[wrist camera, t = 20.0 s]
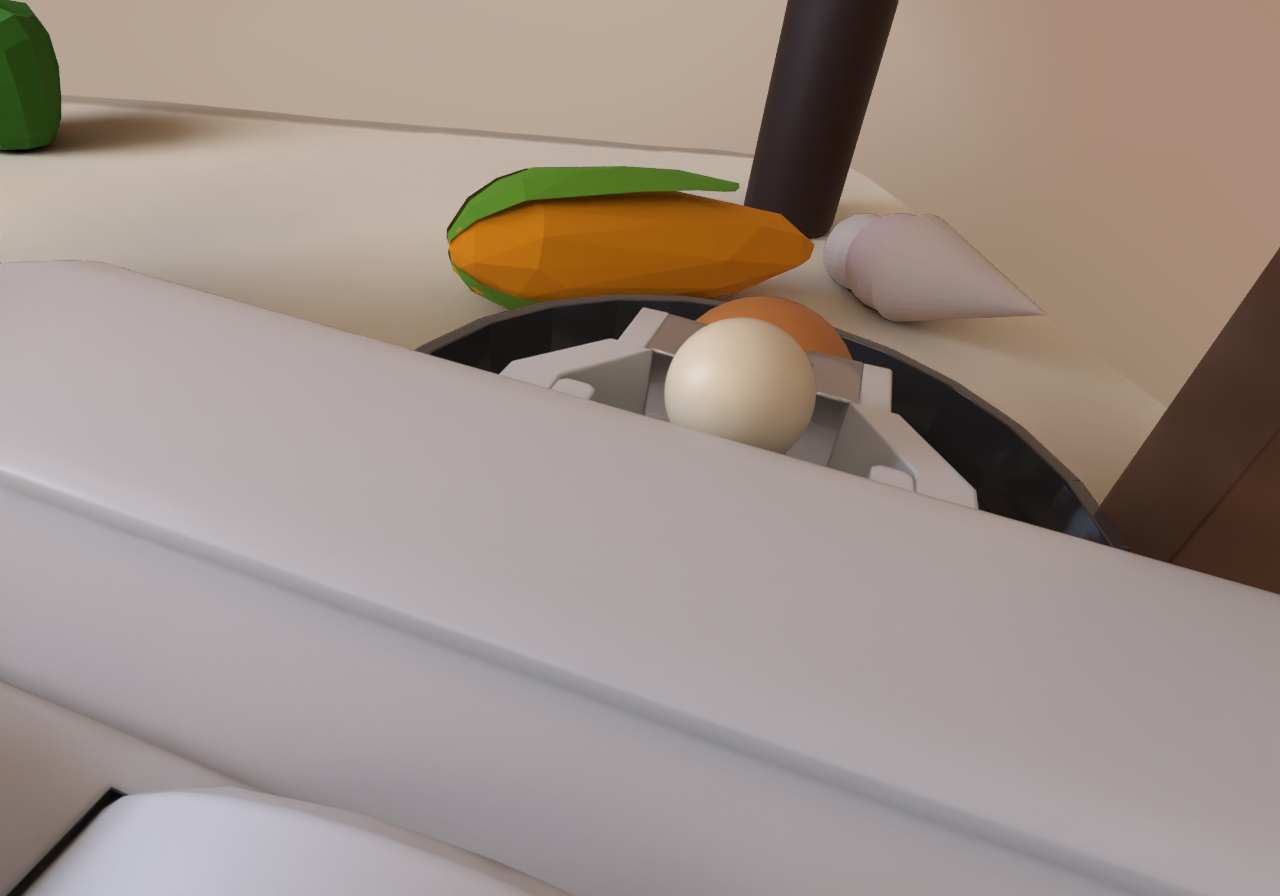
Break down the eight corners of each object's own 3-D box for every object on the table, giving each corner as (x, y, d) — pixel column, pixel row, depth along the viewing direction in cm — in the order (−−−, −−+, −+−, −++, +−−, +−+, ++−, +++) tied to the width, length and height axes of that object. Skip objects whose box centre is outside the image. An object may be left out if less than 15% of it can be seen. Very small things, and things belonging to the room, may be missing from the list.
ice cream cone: (1013, 398, 35) (820, 309, 47) (1100, 315, 35) (885, 247, 47) (988, 314, 31) (784, 240, 43) (1085, 220, 32) (856, 172, 43)
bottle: (815, 211, 56) (903, -102, 45) (842, 243, 51) (949, -103, 39) (734, 203, 56) (800, -120, 44) (751, 234, 50) (833, -124, 38)
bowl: (474, 1284, 11) (466, 1237, 7) (302, 484, 24) (269, 328, 21) (1183, 776, 20) (1339, 640, 16) (766, 394, 33) (800, 274, 29)
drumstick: (866, 631, 9) (992, 248, 8) (514, 516, 10) (603, 160, 9) (813, 482, 24) (856, 342, 23) (677, 442, 25) (715, 307, 24)
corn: (433, 130, 33) (798, 146, 40) (440, 276, 38) (763, 269, 45) (455, 194, 28) (869, 201, 35) (459, 353, 33) (820, 332, 40)
